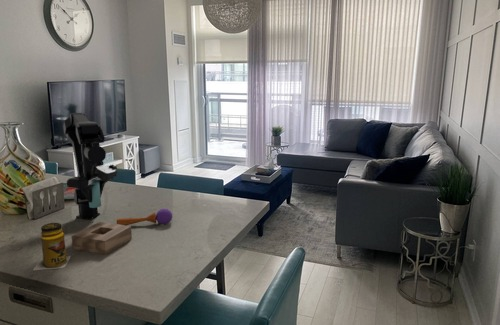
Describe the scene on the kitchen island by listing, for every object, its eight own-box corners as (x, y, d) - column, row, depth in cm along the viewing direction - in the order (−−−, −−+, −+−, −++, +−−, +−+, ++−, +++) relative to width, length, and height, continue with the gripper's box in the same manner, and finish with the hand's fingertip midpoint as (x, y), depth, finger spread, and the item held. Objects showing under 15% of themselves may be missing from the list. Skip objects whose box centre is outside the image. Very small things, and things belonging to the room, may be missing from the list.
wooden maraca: (117, 213, 142) (171, 206, 146) (119, 229, 143) (173, 221, 146) (115, 216, 137) (170, 208, 140) (117, 232, 137) (172, 224, 140)
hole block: (72, 248, 121) (71, 235, 120) (100, 233, 133) (99, 221, 132) (106, 254, 117) (104, 241, 116) (131, 238, 129) (131, 226, 128)
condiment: (65, 267, 109) (60, 228, 106) (32, 271, 107) (27, 231, 105) (70, 256, 116) (66, 219, 113) (40, 259, 114) (35, 222, 112)
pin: (86, 207, 136) (84, 182, 134) (94, 203, 139) (92, 180, 137) (95, 208, 134) (93, 183, 132) (103, 204, 138) (101, 181, 136)
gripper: (90, 165, 122) (94, 211, 125) (126, 155, 139) (129, 195, 142) (63, 162, 126) (68, 207, 129) (102, 153, 143) (105, 192, 146)
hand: (94, 200), depth 136 cm, fingers closed on pin, 4 cm apart
